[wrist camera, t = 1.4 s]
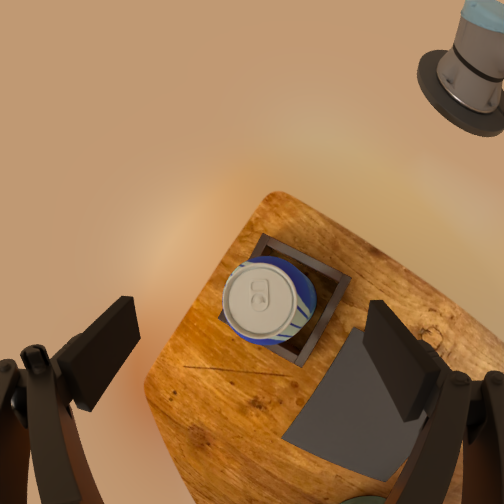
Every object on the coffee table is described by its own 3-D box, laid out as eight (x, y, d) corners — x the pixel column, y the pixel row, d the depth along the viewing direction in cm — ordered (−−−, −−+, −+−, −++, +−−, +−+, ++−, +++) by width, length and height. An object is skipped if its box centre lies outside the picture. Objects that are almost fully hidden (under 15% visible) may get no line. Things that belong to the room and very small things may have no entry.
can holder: (349, 279, 37) (351, 277, 33) (304, 361, 37) (301, 368, 33) (269, 238, 41) (262, 232, 37) (227, 316, 41) (217, 318, 37)
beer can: (329, 293, 38) (328, 290, 22) (292, 341, 38) (267, 368, 23) (281, 258, 40) (249, 233, 25) (246, 305, 40) (195, 308, 25)
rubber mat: (459, 380, 30) (460, 381, 29) (385, 480, 29) (385, 482, 29) (353, 326, 36) (353, 327, 35) (281, 437, 36) (281, 438, 35)
